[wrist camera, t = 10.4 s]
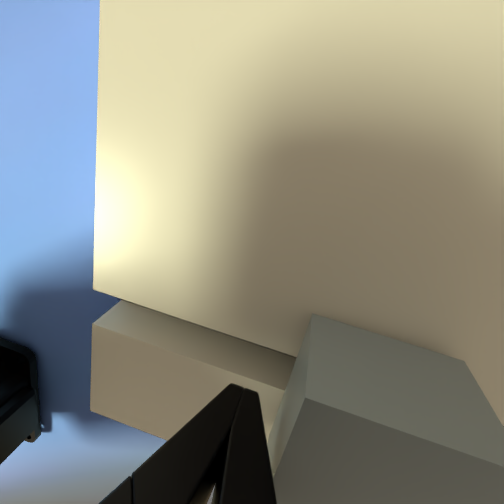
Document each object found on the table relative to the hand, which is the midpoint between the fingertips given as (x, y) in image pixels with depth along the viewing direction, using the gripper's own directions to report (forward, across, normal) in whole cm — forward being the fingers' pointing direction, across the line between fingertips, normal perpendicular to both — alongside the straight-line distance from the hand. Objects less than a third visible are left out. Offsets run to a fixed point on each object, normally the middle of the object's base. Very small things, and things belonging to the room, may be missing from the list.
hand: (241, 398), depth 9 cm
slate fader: (+3, -3, 0) cm, 4 cm away
